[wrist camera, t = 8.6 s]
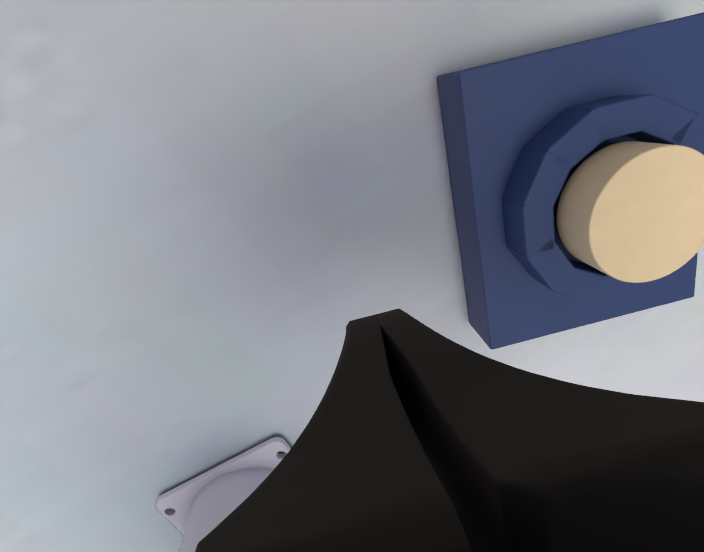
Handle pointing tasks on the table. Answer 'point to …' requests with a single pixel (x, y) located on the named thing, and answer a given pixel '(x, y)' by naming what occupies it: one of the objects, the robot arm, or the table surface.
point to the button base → (560, 169)
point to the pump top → (635, 210)
